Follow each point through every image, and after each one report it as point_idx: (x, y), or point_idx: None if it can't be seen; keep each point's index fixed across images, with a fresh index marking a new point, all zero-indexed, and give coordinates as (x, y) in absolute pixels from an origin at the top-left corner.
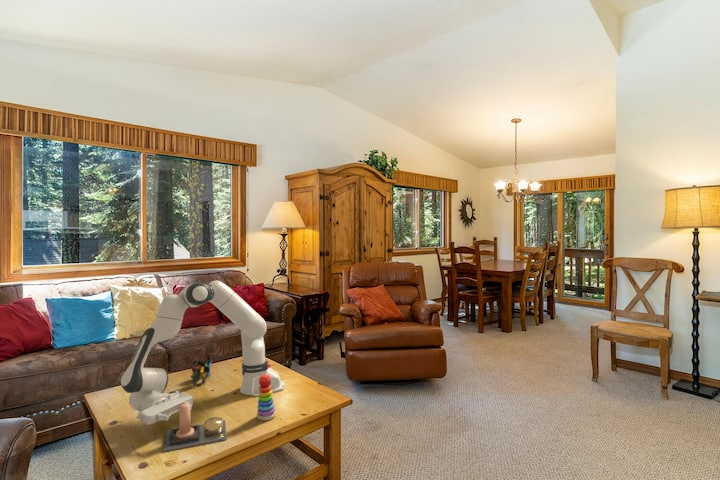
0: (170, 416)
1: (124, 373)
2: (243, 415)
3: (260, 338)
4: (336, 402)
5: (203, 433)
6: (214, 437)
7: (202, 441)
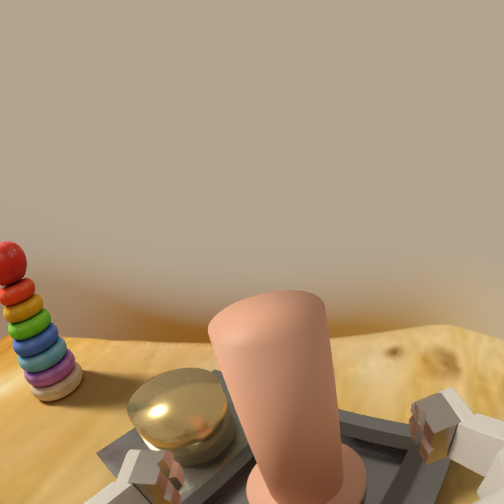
0: (415, 405)
1: None
2: (44, 440)
3: None
4: None
5: (235, 444)
6: None
7: None
